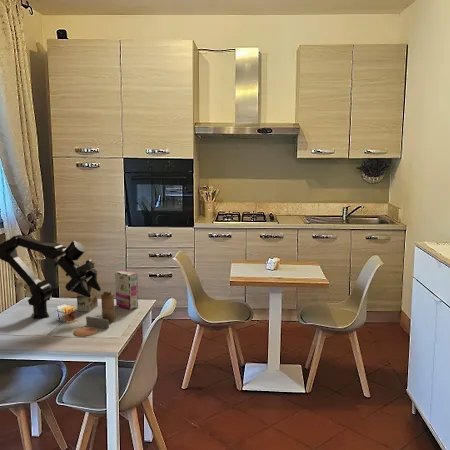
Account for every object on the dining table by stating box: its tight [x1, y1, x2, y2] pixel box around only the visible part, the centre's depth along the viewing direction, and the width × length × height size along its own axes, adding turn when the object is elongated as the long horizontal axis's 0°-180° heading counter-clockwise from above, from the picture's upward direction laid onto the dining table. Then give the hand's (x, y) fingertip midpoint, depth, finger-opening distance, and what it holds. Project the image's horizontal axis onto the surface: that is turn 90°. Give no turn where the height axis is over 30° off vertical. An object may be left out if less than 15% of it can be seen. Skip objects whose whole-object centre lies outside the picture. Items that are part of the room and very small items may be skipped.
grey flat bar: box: [85, 315, 110, 330], centre depth 201 cm, size 11×1×4 cm, turn 65°
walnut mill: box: [100, 290, 116, 324], centre depth 206 cm, size 5×5×13 cm
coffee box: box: [76, 274, 99, 312], centre depth 224 cm, size 9×6×16 cm
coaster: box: [73, 326, 98, 337], centre depth 195 cm, size 9×9×1 cm
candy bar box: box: [114, 270, 139, 311], centre depth 226 cm, size 11×5×16 cm, turn 48°
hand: (95, 293), depth 207 cm, fingers open, 9 cm apart
